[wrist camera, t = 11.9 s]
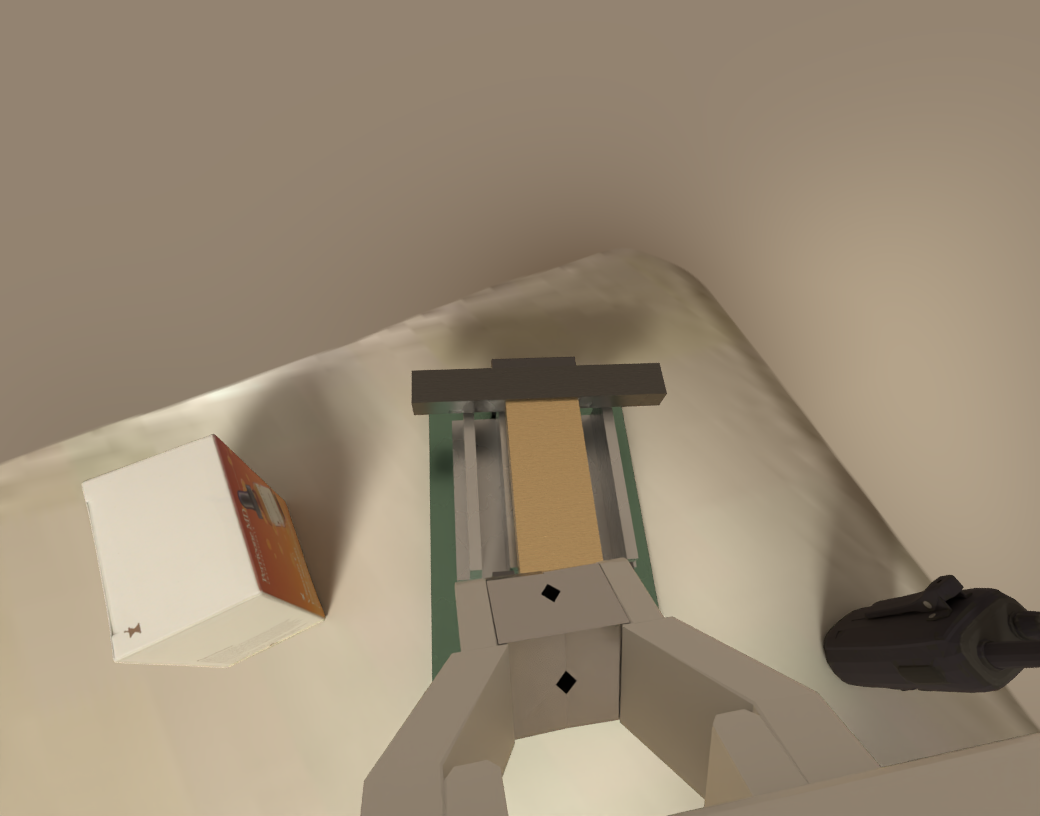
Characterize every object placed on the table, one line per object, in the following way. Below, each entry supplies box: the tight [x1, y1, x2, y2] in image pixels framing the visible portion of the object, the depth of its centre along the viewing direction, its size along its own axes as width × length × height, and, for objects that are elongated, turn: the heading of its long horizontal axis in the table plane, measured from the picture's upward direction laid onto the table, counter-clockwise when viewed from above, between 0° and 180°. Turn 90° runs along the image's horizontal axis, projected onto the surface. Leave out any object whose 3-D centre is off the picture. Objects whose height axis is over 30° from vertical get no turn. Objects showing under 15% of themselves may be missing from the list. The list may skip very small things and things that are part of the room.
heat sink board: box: [429, 357, 659, 681], centre depth 30 cm, size 19×13×8 cm
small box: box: [81, 434, 325, 668], centre depth 27 cm, size 8×6×10 cm
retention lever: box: [412, 363, 667, 574], centre depth 28 cm, size 1×14×12 cm
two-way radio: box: [824, 575, 1040, 693], centre depth 26 cm, size 6×4×15 cm
